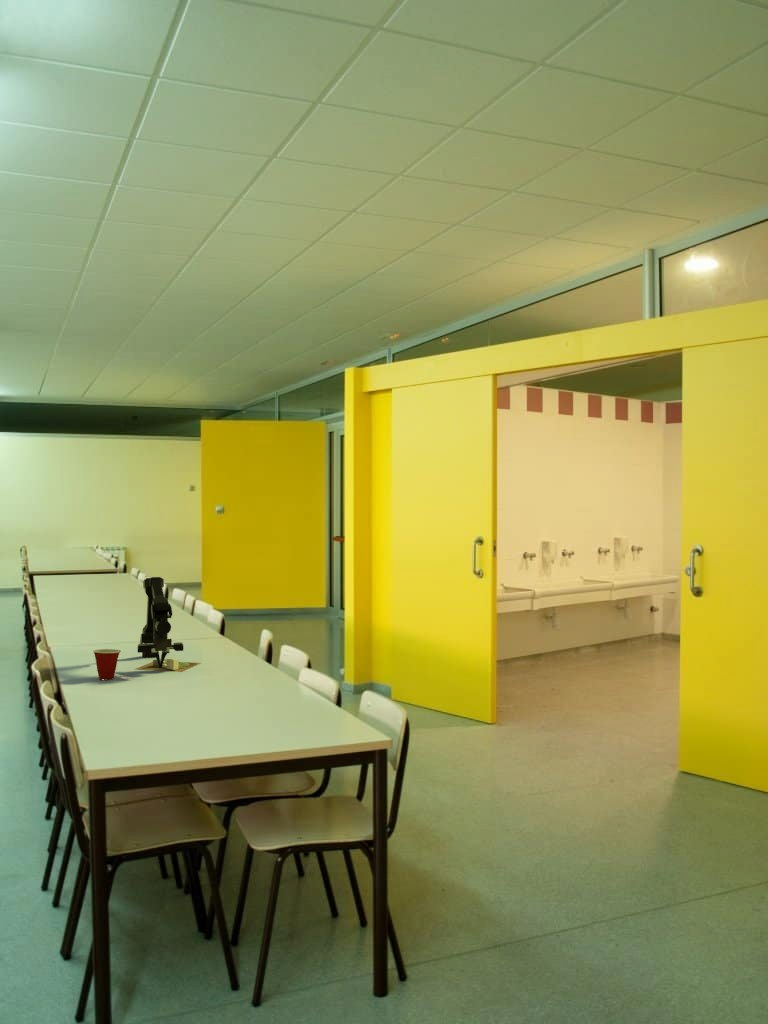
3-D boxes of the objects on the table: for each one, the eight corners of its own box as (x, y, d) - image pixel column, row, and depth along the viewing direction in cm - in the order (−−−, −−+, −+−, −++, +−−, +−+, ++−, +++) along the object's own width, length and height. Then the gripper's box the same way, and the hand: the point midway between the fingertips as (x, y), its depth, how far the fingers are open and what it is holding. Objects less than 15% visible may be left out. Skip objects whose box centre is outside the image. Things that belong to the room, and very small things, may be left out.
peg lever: (150, 665, 372) (150, 656, 372) (161, 664, 377) (161, 654, 377) (170, 670, 362) (170, 661, 362) (181, 668, 367) (182, 659, 367)
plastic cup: (126, 677, 355) (126, 648, 355) (107, 682, 345) (107, 652, 345) (106, 675, 360) (106, 646, 360) (87, 680, 350) (87, 650, 350)
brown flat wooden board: (133, 672, 367) (133, 669, 366) (156, 663, 387) (156, 660, 387) (181, 674, 362) (181, 671, 362) (202, 665, 382) (202, 662, 382)
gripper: (137, 634, 353) (137, 672, 353) (184, 633, 358) (184, 670, 359) (137, 630, 364) (137, 667, 364) (182, 629, 369) (182, 665, 369)
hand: (160, 667), depth 364 cm, fingers closed
